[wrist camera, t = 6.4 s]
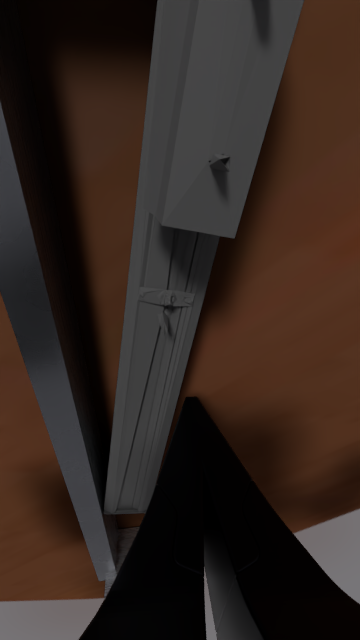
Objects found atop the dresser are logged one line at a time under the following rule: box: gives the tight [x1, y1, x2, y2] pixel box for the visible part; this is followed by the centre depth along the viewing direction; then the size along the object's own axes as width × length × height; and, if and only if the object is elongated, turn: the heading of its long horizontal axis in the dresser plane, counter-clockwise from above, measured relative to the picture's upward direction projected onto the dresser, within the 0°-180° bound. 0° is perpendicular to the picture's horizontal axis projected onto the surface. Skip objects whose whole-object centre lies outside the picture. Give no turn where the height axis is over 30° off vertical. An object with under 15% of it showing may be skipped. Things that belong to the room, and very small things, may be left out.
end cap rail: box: [0, 0, 139, 599], centre depth 10 cm, size 4×26×3 cm, turn 179°
